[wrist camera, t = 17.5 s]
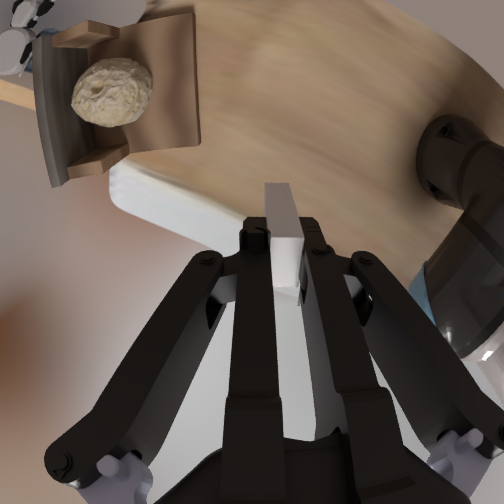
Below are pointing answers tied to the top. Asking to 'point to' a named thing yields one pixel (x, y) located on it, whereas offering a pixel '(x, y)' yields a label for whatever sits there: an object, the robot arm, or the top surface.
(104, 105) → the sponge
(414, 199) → the top surface
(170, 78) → the walnut shelf
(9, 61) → the robot toy
